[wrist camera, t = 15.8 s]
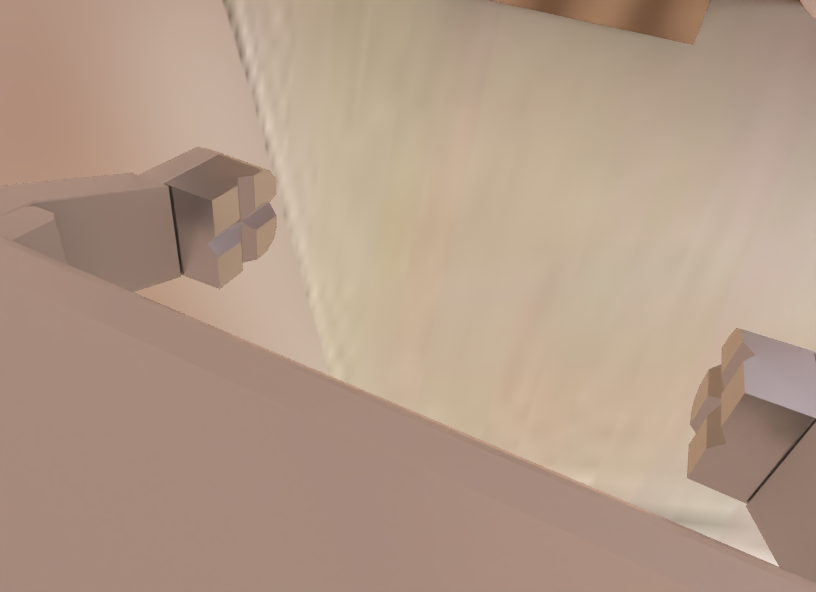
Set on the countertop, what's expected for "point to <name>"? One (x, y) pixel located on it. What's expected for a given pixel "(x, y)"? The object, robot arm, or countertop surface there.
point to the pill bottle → (809, 7)
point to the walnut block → (630, 14)
